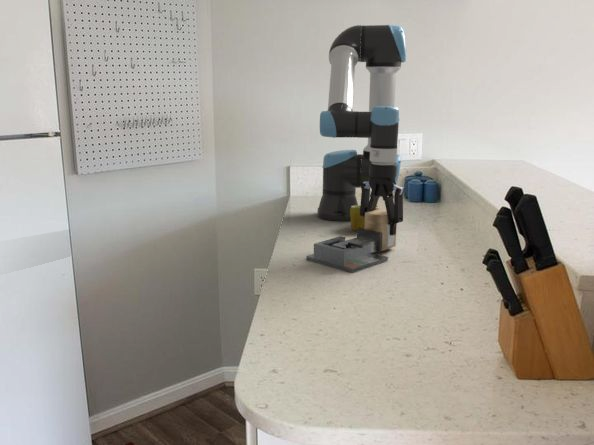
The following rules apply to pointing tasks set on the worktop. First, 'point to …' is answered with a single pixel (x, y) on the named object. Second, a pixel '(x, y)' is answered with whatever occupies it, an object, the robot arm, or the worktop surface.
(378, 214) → the block
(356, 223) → the mug
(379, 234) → the grey blocky piece
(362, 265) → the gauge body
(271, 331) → the worktop surface
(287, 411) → the worktop surface
